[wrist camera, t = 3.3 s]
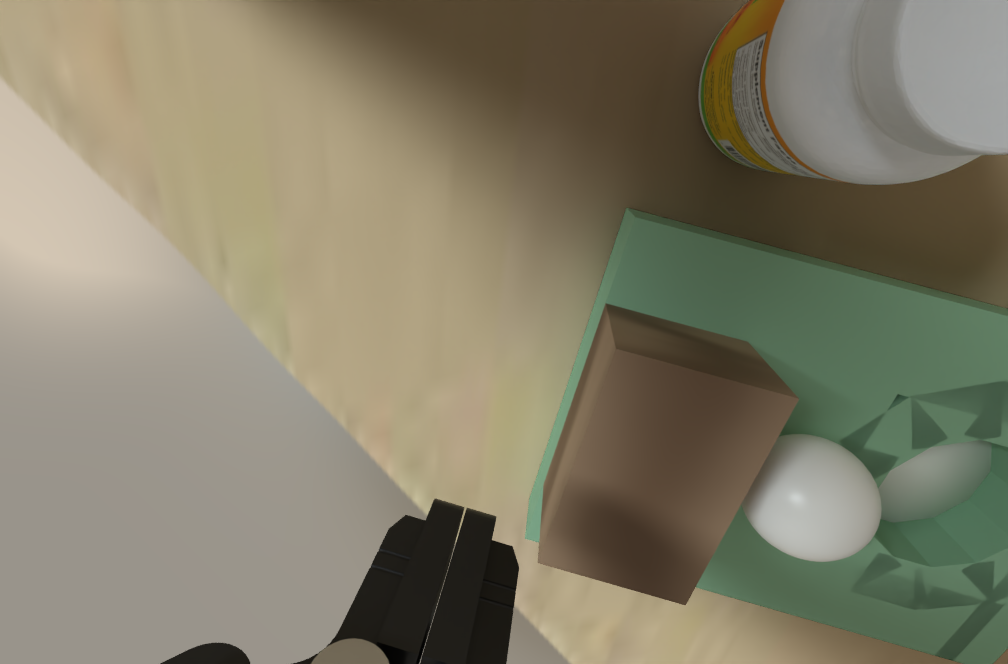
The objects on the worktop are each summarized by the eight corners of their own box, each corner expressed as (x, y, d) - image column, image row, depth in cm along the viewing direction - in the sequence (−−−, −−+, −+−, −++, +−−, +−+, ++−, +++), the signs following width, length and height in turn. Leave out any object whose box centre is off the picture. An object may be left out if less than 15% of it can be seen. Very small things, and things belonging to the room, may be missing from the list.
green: (529, 499, 23) (524, 538, 21) (626, 207, 18) (634, 217, 16) (944, 616, 23) (986, 670, 20) (1170, 352, 17) (1262, 384, 15)
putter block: (543, 484, 20) (537, 562, 16) (605, 303, 17) (615, 348, 13) (663, 517, 20) (685, 605, 16) (748, 341, 17) (799, 398, 13)
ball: (707, 486, 19) (740, 570, 15) (751, 399, 17) (801, 468, 14) (808, 514, 19) (867, 606, 15) (862, 429, 17) (942, 507, 14)
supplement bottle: (866, -44, 14) (1351, -350, 6) (877, 141, 16) (1263, 138, 7) (680, 23, 16) (831, -136, 7) (708, 190, 17) (859, 240, 8)
